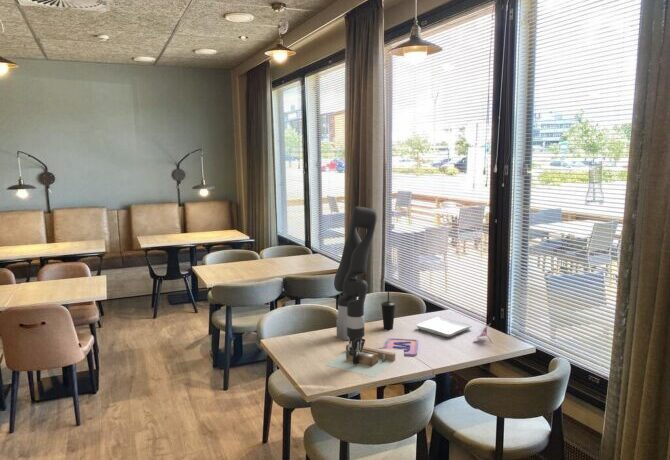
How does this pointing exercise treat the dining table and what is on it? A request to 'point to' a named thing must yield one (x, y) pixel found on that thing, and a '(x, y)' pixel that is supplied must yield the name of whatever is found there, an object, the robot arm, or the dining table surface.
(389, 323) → the drinking cup
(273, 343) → the dining table surface
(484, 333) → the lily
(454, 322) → the salad plate
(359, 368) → the wall panel
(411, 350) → the icon
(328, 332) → the dining table surface
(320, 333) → the dining table surface
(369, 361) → the frame
